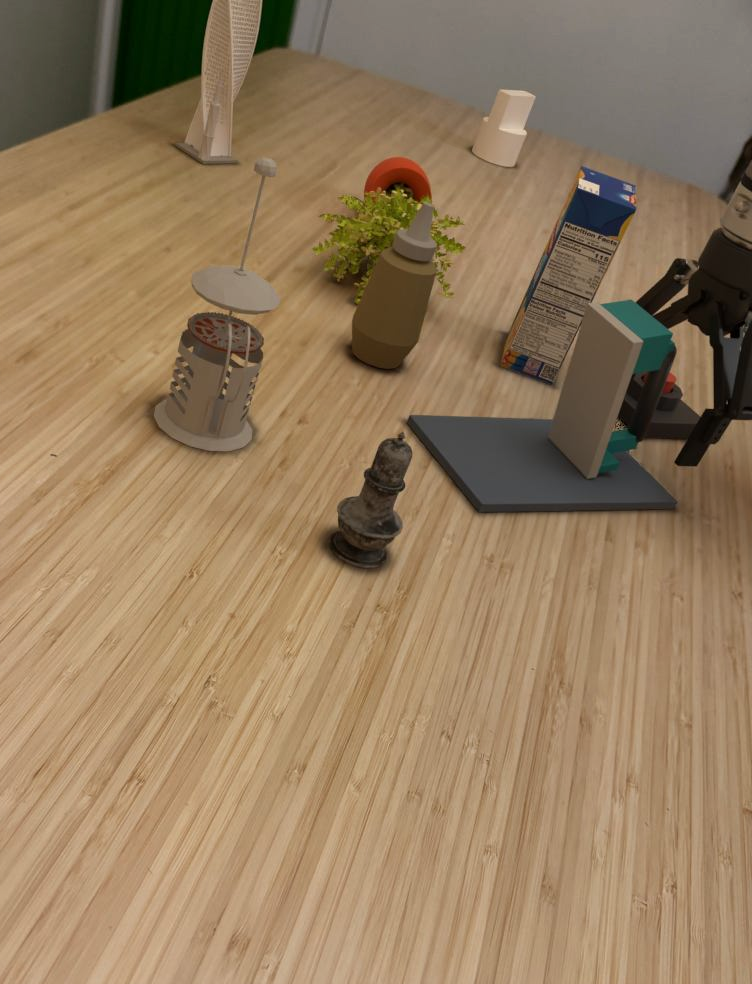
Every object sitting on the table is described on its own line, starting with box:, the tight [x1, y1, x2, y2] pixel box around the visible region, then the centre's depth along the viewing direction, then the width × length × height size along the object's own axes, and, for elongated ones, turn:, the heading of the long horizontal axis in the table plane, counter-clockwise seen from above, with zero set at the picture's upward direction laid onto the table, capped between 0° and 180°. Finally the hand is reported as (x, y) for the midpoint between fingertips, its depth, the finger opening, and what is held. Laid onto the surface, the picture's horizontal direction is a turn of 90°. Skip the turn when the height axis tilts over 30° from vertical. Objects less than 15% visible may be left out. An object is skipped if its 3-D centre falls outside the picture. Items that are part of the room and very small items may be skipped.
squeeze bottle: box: [351, 202, 438, 370], centre depth 116 cm, size 8×8×18 cm
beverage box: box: [500, 165, 637, 386], centre depth 126 cm, size 7×11×22 cm, turn 164°
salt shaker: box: [328, 431, 414, 569], centre depth 87 cm, size 6×6×12 cm
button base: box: [617, 372, 701, 440], centre depth 129 cm, size 12×10×4 cm
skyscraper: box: [174, 0, 263, 165], centre depth 153 cm, size 8×8×28 cm
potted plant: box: [311, 156, 466, 305], centre depth 143 cm, size 19×14×45 cm
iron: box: [548, 299, 678, 479], centre depth 108 cm, size 16×8×10 cm
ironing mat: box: [406, 414, 679, 513], centre depth 112 cm, size 16×26×1 cm, turn 112°
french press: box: [153, 156, 281, 452], centre depth 92 cm, size 10×12×25 cm
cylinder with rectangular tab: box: [471, 89, 537, 168], centre depth 202 cm, size 9×9×12 cm
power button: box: [642, 371, 678, 393], centre depth 127 cm, size 4×4×2 cm
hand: (647, 429), depth 114 cm, fingers open, 13 cm apart
